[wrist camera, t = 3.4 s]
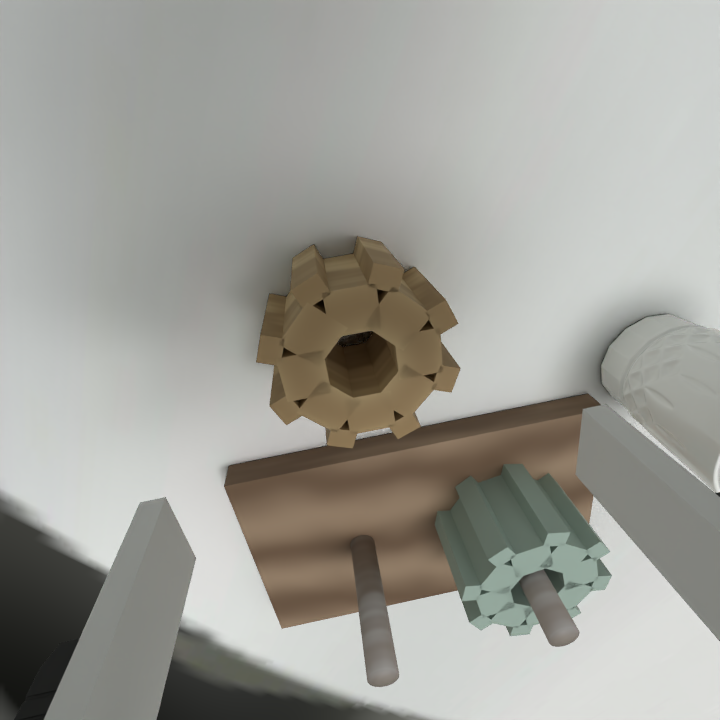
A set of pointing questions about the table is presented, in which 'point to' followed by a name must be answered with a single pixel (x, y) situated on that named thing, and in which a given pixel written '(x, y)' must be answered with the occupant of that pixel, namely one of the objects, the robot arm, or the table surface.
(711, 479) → the white cup
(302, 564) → the walnut gear board
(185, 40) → the table surface
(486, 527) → the pale green gear
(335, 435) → the oak gear
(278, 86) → the table surface
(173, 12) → the table surface
